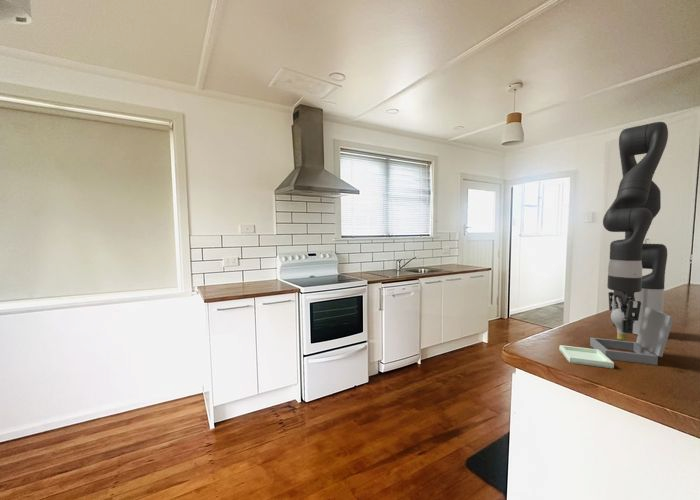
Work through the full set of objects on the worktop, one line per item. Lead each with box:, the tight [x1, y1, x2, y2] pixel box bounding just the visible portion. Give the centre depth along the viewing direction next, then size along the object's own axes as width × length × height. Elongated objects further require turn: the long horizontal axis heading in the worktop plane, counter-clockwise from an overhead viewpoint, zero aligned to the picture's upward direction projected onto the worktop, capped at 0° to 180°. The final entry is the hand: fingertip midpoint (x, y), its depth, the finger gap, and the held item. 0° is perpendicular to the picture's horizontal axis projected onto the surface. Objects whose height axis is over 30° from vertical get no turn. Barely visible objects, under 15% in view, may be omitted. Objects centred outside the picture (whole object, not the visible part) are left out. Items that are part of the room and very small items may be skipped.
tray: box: [558, 344, 615, 369], centre depth 86 cm, size 10×10×2 cm
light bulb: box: [610, 309, 635, 341], centre depth 89 cm, size 6×6×10 cm
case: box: [589, 337, 659, 366], centre depth 89 cm, size 12×12×2 cm
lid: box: [635, 307, 675, 358], centre depth 86 cm, size 12×12×1 cm
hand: (622, 329), depth 89 cm, fingers closed on light bulb, 5 cm apart
